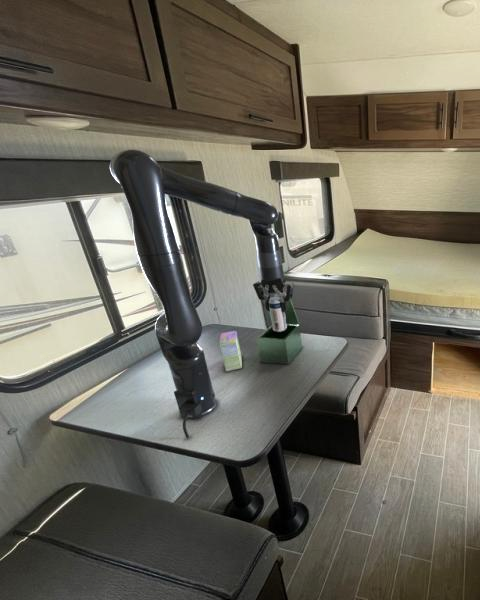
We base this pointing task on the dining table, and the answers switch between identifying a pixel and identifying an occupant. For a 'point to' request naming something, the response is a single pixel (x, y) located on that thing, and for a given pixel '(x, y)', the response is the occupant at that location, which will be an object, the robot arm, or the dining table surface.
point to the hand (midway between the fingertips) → (277, 310)
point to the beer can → (277, 314)
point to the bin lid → (289, 313)
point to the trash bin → (279, 344)
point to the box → (230, 350)
